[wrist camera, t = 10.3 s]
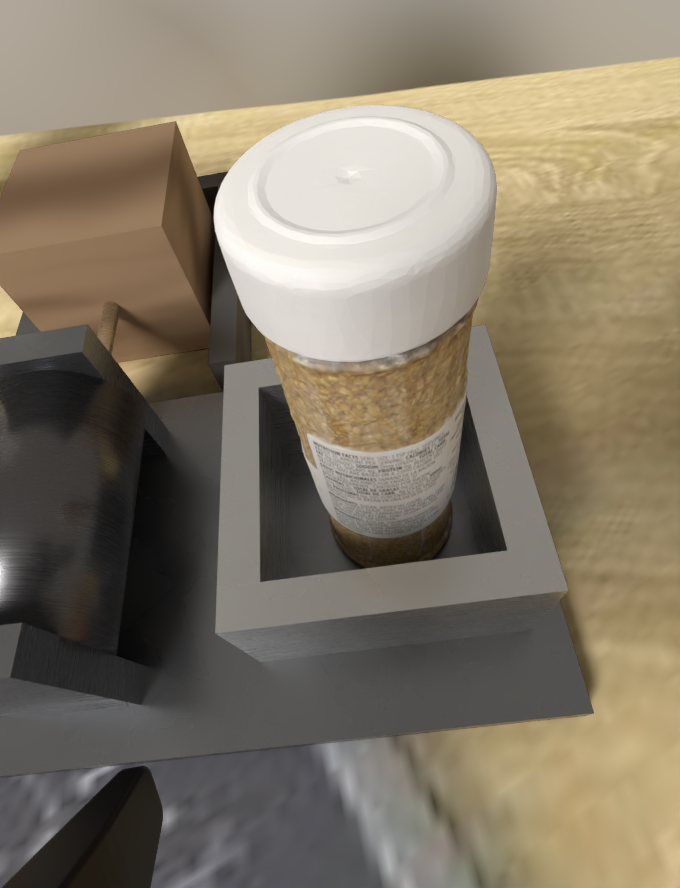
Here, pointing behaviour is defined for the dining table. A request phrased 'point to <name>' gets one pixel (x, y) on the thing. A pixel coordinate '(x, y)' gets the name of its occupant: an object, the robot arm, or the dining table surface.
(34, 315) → the crate bay
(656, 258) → the dining table surface
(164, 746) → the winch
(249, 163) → the sprinkles bottle
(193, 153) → the dining table surface
